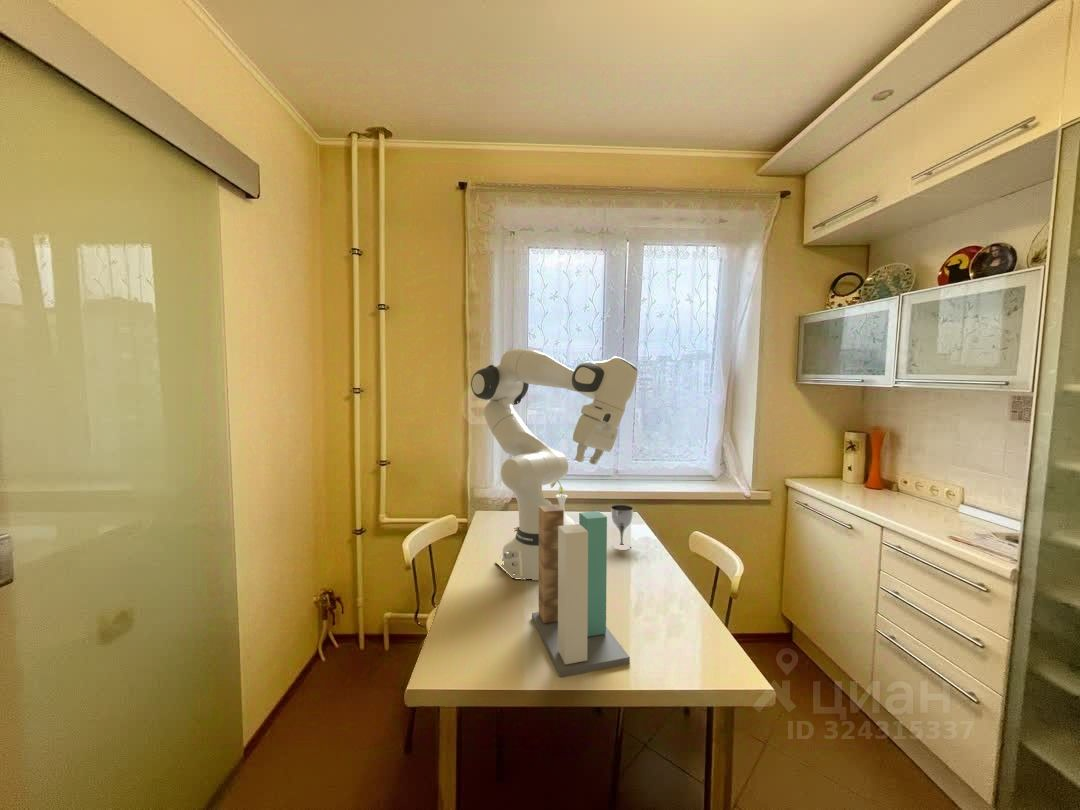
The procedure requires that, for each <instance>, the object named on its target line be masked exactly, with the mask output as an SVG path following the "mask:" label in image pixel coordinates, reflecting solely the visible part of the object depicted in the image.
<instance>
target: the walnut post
mask: <svg viewBox="0 0 1080 810" xmlns="http://www.w3.org/2000/svg"><path fill="white" fill-rule="evenodd" d="M564 511H565V509H564V510H563V509H562V508H561V507H559V504H552V505H546V506H539V580H538V612H539V615H540V617H541V619H542V621H543V622H544V623H551V622H557V621H558V526H564Z"/></svg>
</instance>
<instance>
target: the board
mask: <svg viewBox="0 0 1080 810" xmlns="http://www.w3.org/2000/svg"><path fill="white" fill-rule="evenodd" d="M531 619H533V620H532V621H533V624H534V626H535V628H536V630H537V632H538V635H539V636H540V638H541V641H542V643H543V644H544V647H545V649H546V651H547V653H548V656H549V657H550V660H551V662H552V664H553V666H554V668H555V670H556V673H557V675H558V677H559V678H563V677H569V676H574V675H579V674H583V673H589V672H594V671H600V670H605V669H609V668H614V667H620V666H625V665H630V664H631V662H630V661H631V657H630V655H629V654H628V653H627V651H625V648H623V646H622V645H621V644H620V642H619V641H618V640H617V639H616V637H615V636H614V634H613V633H612V632H611V631H610V629H609V628H608V627H607V626H606V634H600V635H594V636H588V637H587V661H582V662H576V663H571V664H566V665H565V663H564V661H563V659H562V657H561V655H560V654H559V652H558V621H557V622H551V623H544V622H543V621H542V619H541V617H540V615H539V611H537V612H536V611H535V612H532V613H531Z"/></svg>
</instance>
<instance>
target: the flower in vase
mask: <svg viewBox="0 0 1080 810" xmlns="http://www.w3.org/2000/svg"><path fill="white" fill-rule="evenodd" d="M557 482H558V484H559V486H560V487H559V488H558V491H559V493H558V494H556V495H555V497H556V498H557V501H558V506H559V507H561V508H562V509H563V510H564V525H575V523H576V522H575V520H574V519H572V518H571V517H570V516H568V515H567V513H566V511H565V503H566V499H567V498H568V495H567V494H563V493H564V492H565V489H564V488H563V487H562V485H561V483H560V480H558V481H556V482H554V483H551V484H549V485H550V488H554V487H555V486H556V484H557Z"/></svg>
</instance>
